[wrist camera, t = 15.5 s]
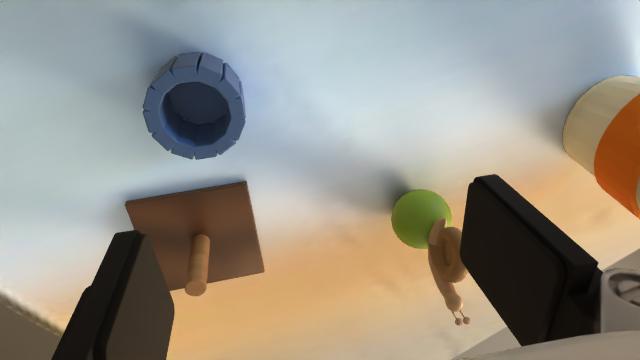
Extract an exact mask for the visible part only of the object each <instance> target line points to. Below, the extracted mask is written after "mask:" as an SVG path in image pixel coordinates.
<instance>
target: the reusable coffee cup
mask: <svg viewBox="0 0 640 360" xmlns="http://www.w3.org/2000/svg"><path fill="white" fill-rule="evenodd" d="M562 139H563V146H564V148H565V151H566V152H567V154H568V155H569V156H570V157H571V158H572V159H574V160H575V161H576V162H577V163H579V164H580V165H581V166H582V167H584V168H585V169H586V170H587V171H589V172H590V173H591V174H592V175H594V176H595V177H596V180H597V183H598V184H599V185H600V186H601V188H602V189H603V190H605V191H606V192H607V193H608V194H609V195H611V196H612V197H613V198H614V199H616V200H617V201H618V202H619V203H620V204H622V205H623V206H624V207H625V208H627V209H628V210H629V211H630V212H631V213H633V214H634V215H635V216H636V217H638V218H639V219H640V77H633V76H625V75H621V76H614V77H611V78H608V79H605V80H603V81H601V82H599V83H597V84H596V85H595V86H593V87H592V88H590V89H589V90H588V91H587V92H586V93H585V94H584V95H583V96H581V98H580V99H579V100H578V101H577V103H576V104H575V105H574V107H573V108H572V110H571V111H570V113H569V115H568V117H567V120H566V122H565V125H564V129H563V138H562Z"/></svg>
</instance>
